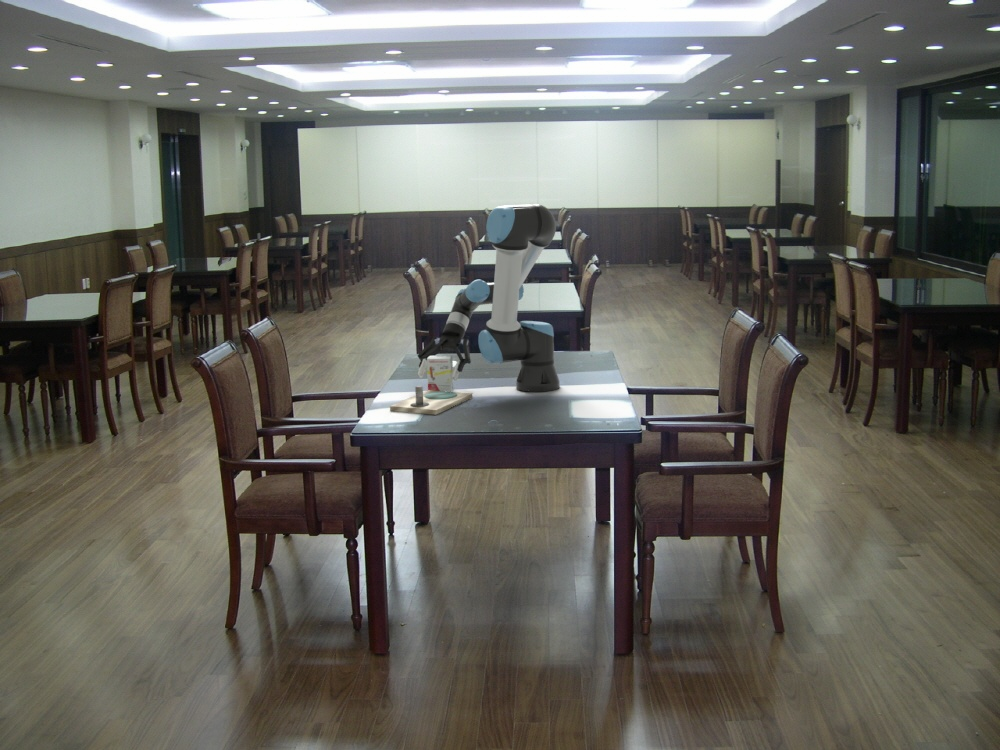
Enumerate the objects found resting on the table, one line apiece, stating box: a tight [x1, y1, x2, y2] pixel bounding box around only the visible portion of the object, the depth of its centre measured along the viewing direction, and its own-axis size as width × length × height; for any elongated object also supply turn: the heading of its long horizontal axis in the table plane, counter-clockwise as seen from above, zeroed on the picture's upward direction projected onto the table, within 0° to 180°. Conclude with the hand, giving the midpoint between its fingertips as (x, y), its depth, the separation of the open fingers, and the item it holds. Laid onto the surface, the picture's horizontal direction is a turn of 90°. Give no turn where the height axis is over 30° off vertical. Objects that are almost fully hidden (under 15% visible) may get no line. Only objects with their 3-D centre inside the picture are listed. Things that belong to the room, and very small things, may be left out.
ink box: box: [426, 355, 454, 392], centre depth 366 cm, size 9×5×12 cm, turn 84°
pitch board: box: [389, 385, 474, 415], centre depth 346 cm, size 17×25×8 cm
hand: (436, 377), depth 365 cm, fingers open, 13 cm apart
